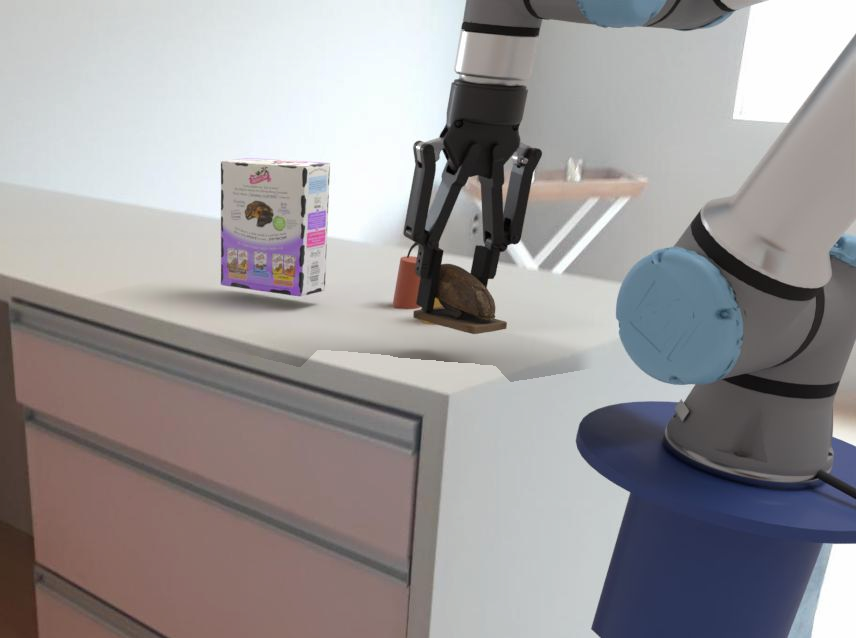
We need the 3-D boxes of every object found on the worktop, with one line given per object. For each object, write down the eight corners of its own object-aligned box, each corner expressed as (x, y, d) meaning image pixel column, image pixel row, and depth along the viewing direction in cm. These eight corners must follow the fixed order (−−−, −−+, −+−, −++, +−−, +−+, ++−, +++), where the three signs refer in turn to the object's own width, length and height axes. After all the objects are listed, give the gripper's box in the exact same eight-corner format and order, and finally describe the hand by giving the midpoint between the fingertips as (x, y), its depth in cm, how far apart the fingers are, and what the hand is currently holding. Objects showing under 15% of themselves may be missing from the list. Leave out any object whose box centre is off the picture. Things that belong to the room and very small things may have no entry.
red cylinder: (423, 316, 150) (433, 263, 147) (398, 316, 150) (407, 263, 146) (412, 308, 153) (421, 256, 150) (387, 308, 153) (396, 255, 150)
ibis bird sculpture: (388, 311, 131) (392, 233, 128) (418, 307, 133) (424, 230, 129) (474, 334, 119) (482, 249, 116) (507, 329, 121) (515, 245, 118)
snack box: (327, 291, 152) (332, 161, 146) (300, 298, 148) (305, 165, 142) (245, 278, 161) (247, 155, 154) (218, 285, 157) (219, 159, 150)
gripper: (552, 80, 121) (507, 298, 131) (391, 71, 116) (358, 297, 127) (591, 88, 114) (541, 317, 124) (423, 79, 110) (385, 317, 120)
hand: (449, 307), depth 125 cm, fingers closed on ibis bird sculpture, 5 cm apart
